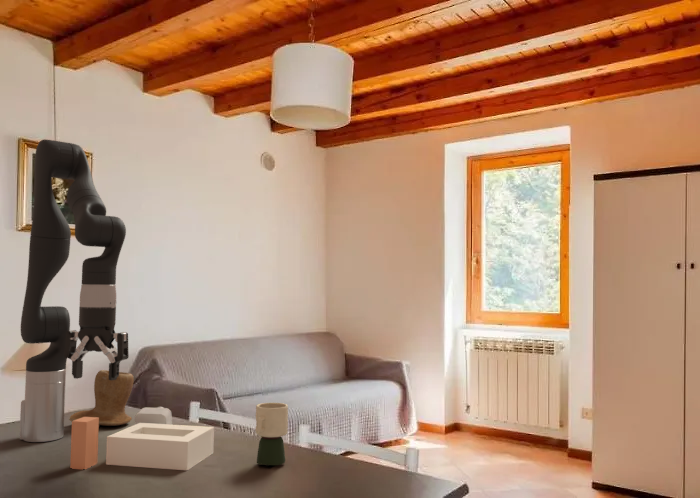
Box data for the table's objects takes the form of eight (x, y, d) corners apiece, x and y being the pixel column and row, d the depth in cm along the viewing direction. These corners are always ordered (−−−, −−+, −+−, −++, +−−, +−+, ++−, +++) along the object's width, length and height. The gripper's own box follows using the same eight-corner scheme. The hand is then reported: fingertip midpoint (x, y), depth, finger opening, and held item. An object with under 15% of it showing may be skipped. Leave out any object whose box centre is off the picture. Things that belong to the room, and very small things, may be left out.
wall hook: (183, 432, 164) (181, 396, 162) (168, 452, 154) (165, 414, 152) (154, 431, 164) (151, 395, 163) (137, 451, 154) (133, 413, 153)
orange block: (70, 468, 133) (71, 421, 134) (82, 462, 138) (84, 416, 138) (85, 469, 133) (86, 422, 133) (97, 463, 137) (98, 417, 138)
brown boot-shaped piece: (141, 421, 178) (143, 368, 179) (114, 430, 167) (116, 374, 168) (96, 417, 183) (98, 366, 183) (67, 426, 171) (69, 371, 172)
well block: (106, 464, 136) (107, 436, 137) (139, 447, 150) (139, 422, 150) (187, 470, 133) (188, 441, 133) (213, 452, 147) (214, 427, 147)
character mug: (270, 456, 144) (271, 399, 145) (297, 460, 141) (298, 402, 142) (243, 469, 134) (244, 408, 135) (270, 473, 131) (272, 411, 132)
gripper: (58, 305, 136) (55, 380, 135) (117, 306, 133) (115, 383, 132) (79, 303, 143) (76, 375, 142) (136, 305, 140) (133, 378, 139)
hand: (95, 379), depth 137 cm, fingers open, 8 cm apart
